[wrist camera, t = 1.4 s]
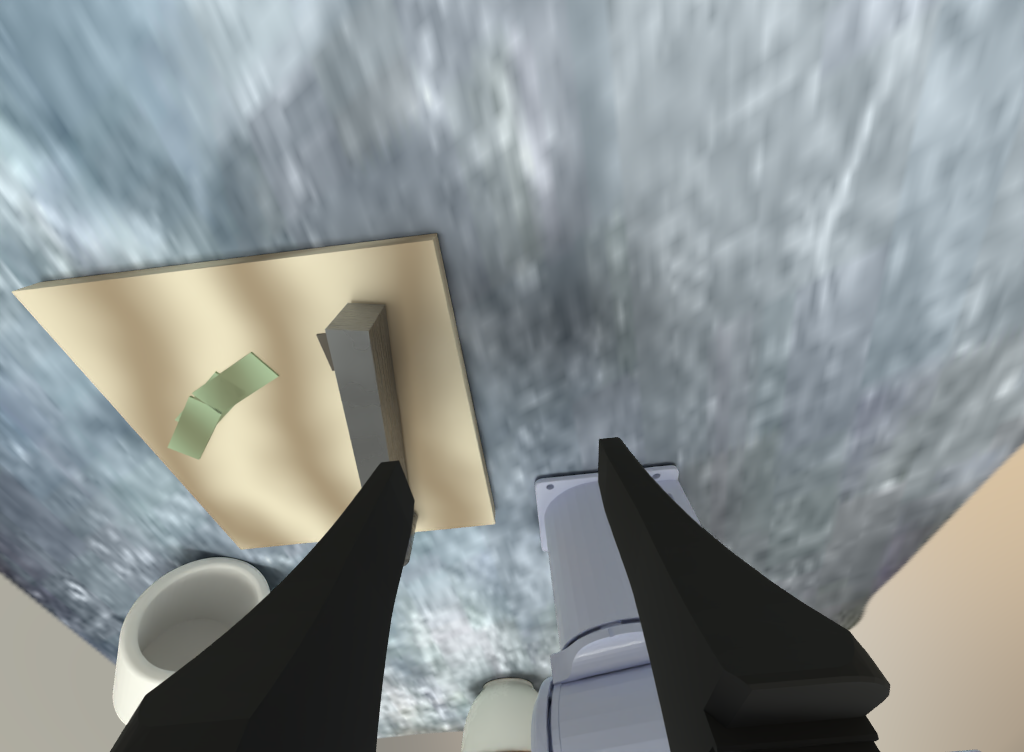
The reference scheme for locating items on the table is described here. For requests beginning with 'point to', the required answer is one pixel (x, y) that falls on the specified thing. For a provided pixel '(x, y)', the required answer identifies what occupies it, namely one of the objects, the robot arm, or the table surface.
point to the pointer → (368, 388)
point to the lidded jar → (501, 717)
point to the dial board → (277, 380)
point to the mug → (180, 623)
